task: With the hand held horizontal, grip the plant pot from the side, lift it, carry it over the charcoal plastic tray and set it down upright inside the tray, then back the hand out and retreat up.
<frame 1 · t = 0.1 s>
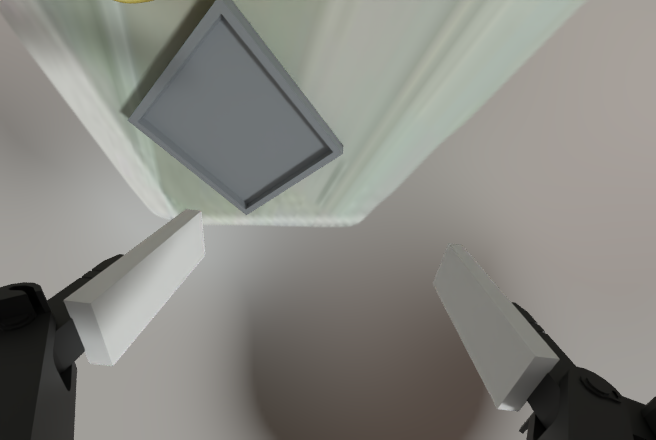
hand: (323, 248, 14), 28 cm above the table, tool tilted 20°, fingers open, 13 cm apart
tray: (242, 129, 39), on the table
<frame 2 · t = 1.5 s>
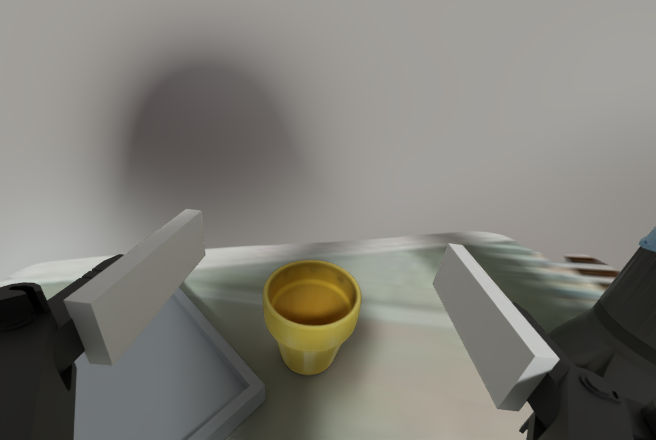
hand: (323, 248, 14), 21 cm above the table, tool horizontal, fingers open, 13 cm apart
plant pot: (307, 350, 31), on the table
tray: (95, 405, 24), on the table
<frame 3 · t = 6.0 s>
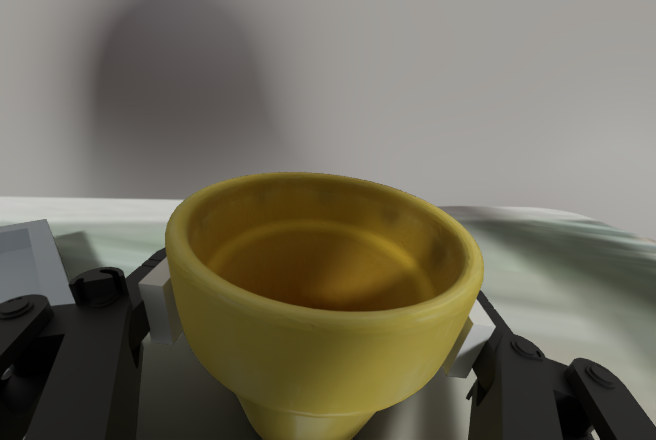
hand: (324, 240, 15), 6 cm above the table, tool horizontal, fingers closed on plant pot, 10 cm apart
plant pot: (305, 381, 14), on the table, touching gripper
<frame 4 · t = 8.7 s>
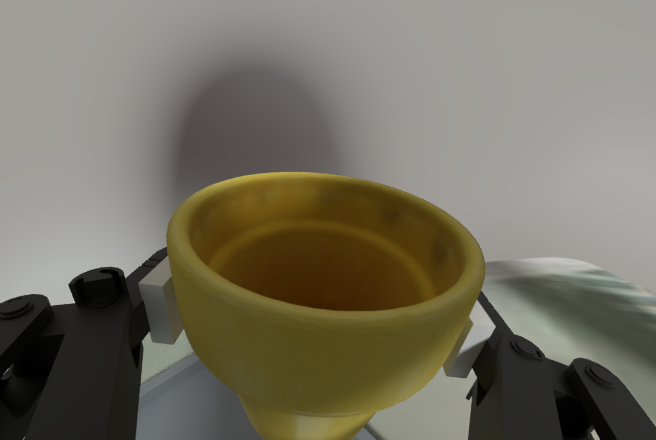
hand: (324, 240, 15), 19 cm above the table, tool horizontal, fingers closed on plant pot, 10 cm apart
plant pot: (305, 381, 14), point 13 cm above the table, touching gripper
when the fingers open (8 cm above the table, at t = 11.5 s): plant pot drops 1 cm, resting on tray.
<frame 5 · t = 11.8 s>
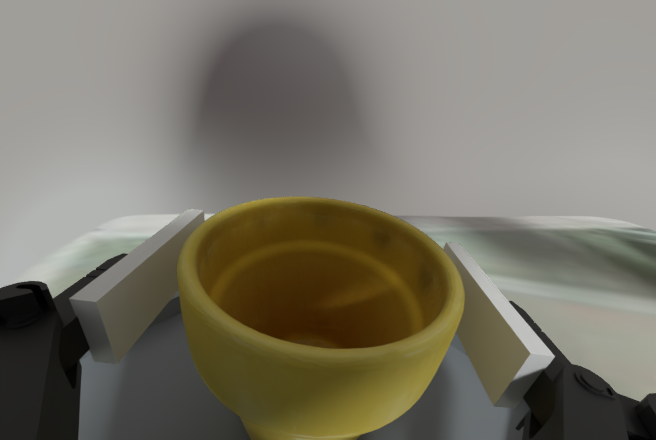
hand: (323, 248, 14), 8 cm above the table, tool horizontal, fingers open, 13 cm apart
plant pot: (301, 395, 14), point 1 cm above the table, touching tray
tray: (302, 406, 15), on the table
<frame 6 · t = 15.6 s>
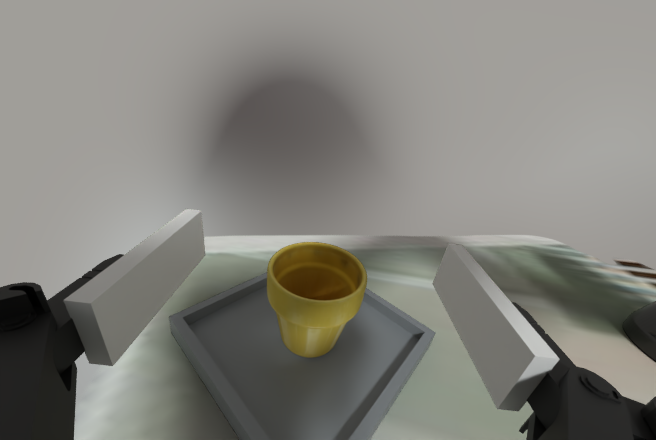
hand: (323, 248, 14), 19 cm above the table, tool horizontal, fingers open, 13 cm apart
plant pot: (307, 334, 31), point 1 cm above the table, touching tray
tray: (307, 340, 31), on the table
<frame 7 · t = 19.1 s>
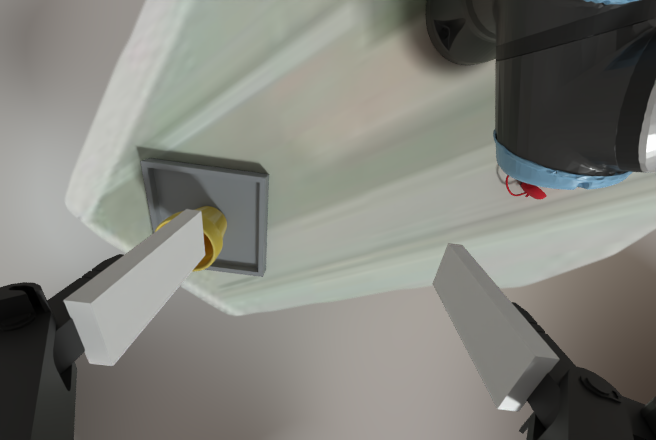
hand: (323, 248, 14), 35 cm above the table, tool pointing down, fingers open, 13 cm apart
plant pot: (210, 220, 52), point 1 cm above the table, touching tray
tray: (213, 219, 52), on the table
alarm clock: (542, 162, 46), on the table
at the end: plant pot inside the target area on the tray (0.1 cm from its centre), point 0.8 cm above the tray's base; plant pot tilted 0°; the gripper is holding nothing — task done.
